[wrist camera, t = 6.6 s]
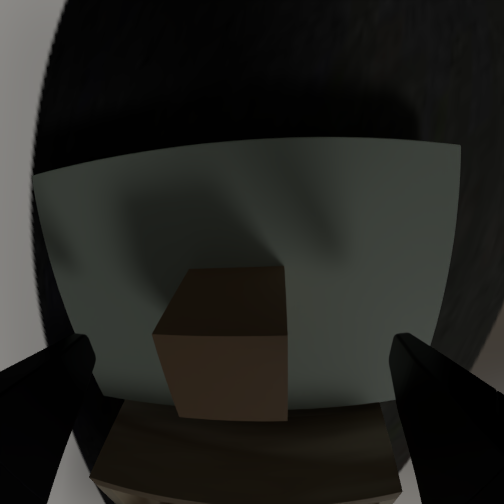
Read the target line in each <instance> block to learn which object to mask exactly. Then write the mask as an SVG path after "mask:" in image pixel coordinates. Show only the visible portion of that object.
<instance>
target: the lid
mask: <svg viewBox="0 0 504 504" xmlns="http://www.w3.org/2000/svg"><path fill="white" fill-rule="evenodd" d="M460 161H461V145H455V144H449V143H442V142H432V141H421V140H408V139H393V138H372V137H286V138H265V139H248V140H235V141H223V142H213V143H203V144H194V145H185V146H178V147H170V148H163V149H156V150H149V151H143V152H137V153H131V154H125V155H120V156H114V157H109V158H104V159H99V160H94V161H89V162H84V163H80V164H75V165H71V166H67V167H63V168H58V169H54V170H50V171H47V172H43V173H40V174H37V175H33V176H32V181H33V188H34V193H35V199H36V204H37V209H38V214H39V218H40V223H41V227H42V232H43V236H44V240H45V244H46V247H47V251H48V255H49V258H50V262H51V265H52V269H53V272H54V275H55V279H56V282H57V285H58V288H59V291H60V294H61V297H62V300H63V303H64V306H65V308H66V311H67V314H68V317H69V319H70V322H71V324H72V327H73V329H74V332H75V333H79V334H85V335H87V336H88V338H89V340H90V343H91V345H92V348H93V350H94V352H95V355H96V362H95V366H94V369H93V372H92V373H93V375H94V377H95V379H96V381H97V383H98V385H99V387H100V389H101V391H102V393H103V395H104V396H109V397H115V398H120V399H127V400H133V401H140V402H147V403H155V404H163V405H172V406H175V407H176V410H177V412H178V415H179V417H184V418H195V419H209V420H226V421H287V419H288V410H294V409H314V408H329V407H340V406H350V405H360V404H368V403H375V402H383V401H389V400H396V399H395V393H394V388H393V383H392V377H391V372H390V368H389V354H390V350H391V345H392V341H393V337H394V335H395V334H397V333H406V332H408V333H410V334H412V335H414V336H415V337H417V338H418V339H420V340H421V341H423V342H424V343H426V344H428V345H429V346H430V344H431V341H432V338H433V334H434V331H435V327H436V323H437V320H438V316H439V312H440V308H441V304H442V299H443V295H444V290H445V286H446V281H447V276H448V271H449V265H450V260H451V254H452V248H453V241H454V234H455V226H456V218H457V208H458V197H459V183H460Z"/></svg>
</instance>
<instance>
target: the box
mask: <svg viewBox="0 0 504 504" xmlns="http://www.w3.org/2000/svg"><path fill="white" fill-rule="evenodd" d="M89 478H90V479H91V480H92V481H93V482H94V483H95V484H96V485H97V486H98V487H99V488H100V489H101V490H102V491H103V492H104V493H105V494H106V495H107V496H108V497H109V498H110V499H111V500H113V501H114V502H115V503H116V504H393V503H394V501H395V500H396V499H397V498H398V497H399V495H400V494H401V493H402V487H401V483H400V479H399V475H398V470H397V466H396V462H395V458H394V454H393V450H392V447H391V443H390V439H389V435H388V432H387V428H386V425H385V421H384V418H383V414H382V411H381V407H380V404H379V402H375V403H368V404H360V405H350V406H340V407H329V408H314V409H294V410H288V419H287V421H226V420H209V419H195V418H184V417H179V415H178V412H177V410H176V407H175V406H172V405H163V404H155V403H147V402H140V401H133V400H127V399H125V401H124V403H123V405H122V407H121V409H120V411H119V413H118V415H117V417H116V419H115V422H114V424H113V426H112V428H111V430H110V432H109V434H108V436H107V439H106V441H105V443H104V445H103V447H102V449H101V452H100V454H99V456H98V458H97V460H96V463H95V465H94V467H93V469H92V471H91V474H90V476H89Z"/></svg>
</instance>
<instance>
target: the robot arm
mask: <svg viewBox="0 0 504 504" xmlns="http://www.w3.org/2000/svg"><path fill="white" fill-rule="evenodd" d="M95 362H96V355H95V352H94V350H93V348H92V345H91V343H90V340H89V338H88V336H87V335H85V334H79V333H75V334H72V335H71V336H69V337H67V338H65V339H63V340H61V341H59V342H57V343H55V344H53V345H51V346H49V347H47V348H45V349H43V350H41V351H39V352H37V353H36V354H34V355H32V356H30V357H28V358H26V359H24V360H22V361H20V362H18V363H16V364H14V365H12V366H10V367H9V368H6V369H5V370H3V371H1V372H0V504H47V502H48V498H49V495H50V492H51V489H52V485H53V482H54V479H55V476H56V473H57V470H58V467H59V464H60V461H61V458H62V456H63V453H64V450H65V447H66V445H67V442H68V439H69V436H70V434H71V431H72V429H73V426H74V423H75V421H76V418H77V416H78V413H79V411H80V408H81V406H82V403H83V401H84V398H85V394H86V391H87V388H88V385H89V381H90V378H91V375H92V372H93V369H94V366H95ZM389 368H390V372H391V377H392V383H393V388H394V393H395V399H396V404H397V409H398V413H399V417H400V420H401V423H402V427H403V430H404V434H405V437H406V441H407V445H408V448H409V452H410V456H411V460H412V464H413V468H414V472H415V475H416V480H417V484H418V489H419V493H420V497H421V502H422V504H504V395H503V394H502V393H501V392H499V391H496V389H494V388H493V387H491V386H490V385H488V384H487V383H485V382H484V381H482V380H481V379H479V378H478V377H476V376H475V375H473V374H472V373H470V372H469V371H467V370H466V369H464V368H463V367H461V366H460V365H458V364H457V363H455V362H454V361H452V360H451V359H449V358H447V357H446V356H444V355H443V354H441V353H440V352H438V351H437V350H435V349H434V348H432V347H431V346H429V345H428V344H426V343H424V342H423V341H421V340H420V339H418V338H417V337H415V336H414V335H412V334H410V333H408V332H406V333H397V334H395V335H394V337H393V341H392V345H391V350H390V354H389Z"/></svg>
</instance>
